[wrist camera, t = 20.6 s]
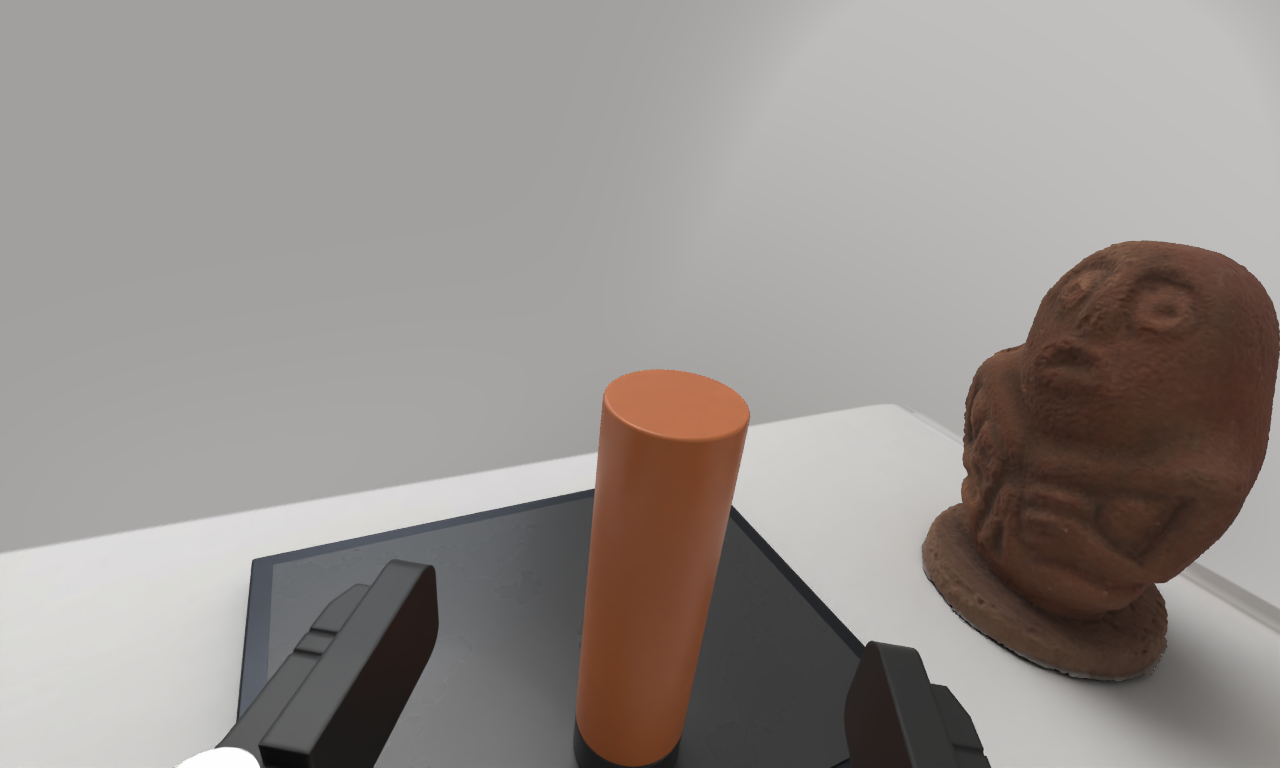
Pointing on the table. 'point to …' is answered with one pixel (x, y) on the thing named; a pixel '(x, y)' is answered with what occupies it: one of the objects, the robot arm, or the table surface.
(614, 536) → the orange cylinder
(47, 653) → the table surface
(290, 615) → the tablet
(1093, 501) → the figurine
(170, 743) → the table surface
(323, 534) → the table surface
